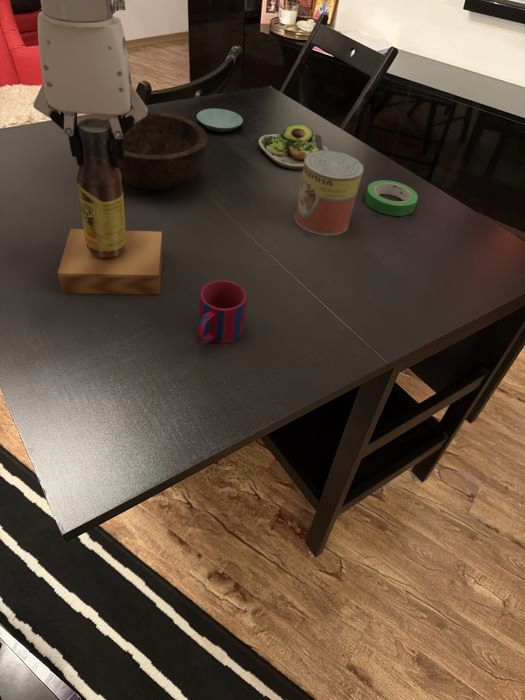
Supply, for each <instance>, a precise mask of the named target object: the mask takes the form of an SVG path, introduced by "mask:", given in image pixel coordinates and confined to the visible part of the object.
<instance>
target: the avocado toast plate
mask: <svg viewBox="0 0 525 700" xmlns="http://www.w3.org/2000/svg"><path fill="white" fill-rule="evenodd" d="M322 141H323V139H322V136H321V135H319V134H316V133H315V134H314V131H313V129H312V128H311V127H310V126H309V125H307V124H302V123H295V124H290V125H287V126H286V128H283V132H282V133H272V134H271V133H270V134H264V135H262V136H260V137H259V139H258V140H257V144H258V148H259V150H260V151H261V152H262V153H264V154H265V155H266V156H267V157H268V158H269V159H270V160H272V161H273V162H275V164H278V165H279V166H280V167H282V168H286V169H289V170H293V171H294V170H295V171H303V167H304V159H305V156H306V155H307V154H309V153H311V152H314V151H319V150H329V148H328V147H326V146H325V145H323V142H322Z"/></svg>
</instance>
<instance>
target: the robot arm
mask: <svg viewBox="0 0 525 700" xmlns="http://www.w3.org/2000/svg"><path fill="white" fill-rule="evenodd" d="M40 5H41V6H40V7H41V11H40V12H38V14H37V39H38V41H37V42H38V53H39V61H40V72H41V77H42V84H41V87H40V88H39V90H38V93H37V95H36V97H35V100H34V101H33V104H32V105H33V108H34V109H35V110H36V111H38V112H39V113H41V114H43V115H44V116H46V117H48V118H50V120H51V121H52V122H53V123H54V124H56V126H58V127H59V128H60V129H61V130H63V133H64V135H66V136H67V137H68V142H69V147H70V153H71V156H72V157H73V158H75V159H76V164H77V167H80V166H82V165H83V155H82V143H81V137H80V135H79V129H78V114H84V115H86V114H87V115H102V116H107V119H109V122H110V126H111V129H112V135H111V139H110V143H111V152H112V160H113V167H115V168H119V166H120V161H121V159H124V158H125V151H124V141H123V135H124V134H125V133H126V132H127V131H128V130H129V129H130V128H131V127H132V126H133V125H134V124H135V123H137V122H139V121H140V120H142V119H143V118H145V117H146V116H147V114H148V112H149V108H148V106H147V105H146V103H145V102H144V101H143V100H142V98H141V96H140V95H139V93H138V92H137V91H136V89H135V88H134V86H133V81H132V73H131V65H130V58H129V52H128V46H127V41H126V36H125V32H124V31H125V30H124V28H123V24H122V20H121V18H119V17H118V16H114V14H115V13H116V12H119V11H126V0H40ZM131 107H132V108H133V109H132V110H131ZM130 110H131V111H130ZM126 113H127V114H126ZM124 114H126V115H125V116H124V117H123V118H122V115H124Z"/></svg>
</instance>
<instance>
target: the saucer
mask: <svg viewBox="0 0 525 700" xmlns="http://www.w3.org/2000/svg"><path fill="white" fill-rule="evenodd" d="M196 119H197V121H198V122H199V123H200V124H201V125H202V126H203V127H205V128H207V129H208V130H211V131H213V132H218V133H225V132H231V131H233V130H235V129H237V128H239V127H240V126H241V125H242V124H243V122H244V119H243V117H242V116H241V115H240V114H238V113H237V112H235V111H232V110H229V109H224V108H205V109H202V110H200V111H199V112H198V113H197V114H196Z"/></svg>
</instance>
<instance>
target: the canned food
mask: <svg viewBox="0 0 525 700" xmlns="http://www.w3.org/2000/svg"><path fill="white" fill-rule="evenodd" d="M364 171H365V167H364V165H363V163H362V162H361V161H360V160H359V159H357V157H354V156H352V155H350V154H348V153H346V152H345V153H344V152H341V151H337V150H330V149H328V150H319V151H314V152H311V153H309V154H307V155H306V156H305V159H304V167H303V170H302V174H301V178H300V179H301V180H300V185H299V189H298V196H297V200H296V201H297V202H296V208H295V212H294V221H295V223H296V224H297V225H298V226H299V227H300V228H301V229H302V230H305V231H306V232H308V233H311V234H314V235H319V236H325V237H326V236H327V237H333V236H338V235H341V234H343V233H345V232H346V231H347V230H348V229H349V226H350V220H351V217H352V214H353V210H354V206H355V203H356V200H357V195H358V191H359V188H360V185H361V181H362V178H363V177H362V176H363V174H364Z"/></svg>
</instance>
